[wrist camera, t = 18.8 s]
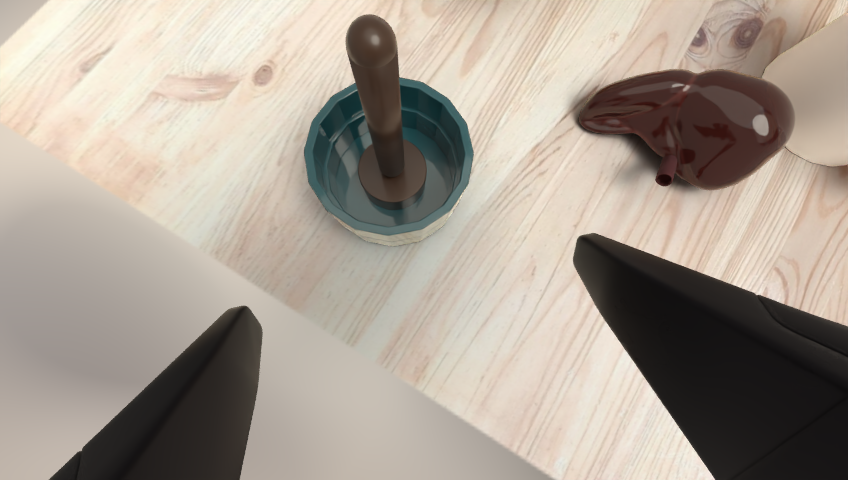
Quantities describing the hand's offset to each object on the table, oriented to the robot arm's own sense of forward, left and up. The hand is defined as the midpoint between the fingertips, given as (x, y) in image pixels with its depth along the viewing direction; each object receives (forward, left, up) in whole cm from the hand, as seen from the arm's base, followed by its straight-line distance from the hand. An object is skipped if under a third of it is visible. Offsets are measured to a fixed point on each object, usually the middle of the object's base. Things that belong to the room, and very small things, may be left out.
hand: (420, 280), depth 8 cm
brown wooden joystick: (+7, +3, -12) cm, 15 cm away
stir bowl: (+7, +3, -13) cm, 15 cm away
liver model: (+15, -16, -13) cm, 26 cm away
